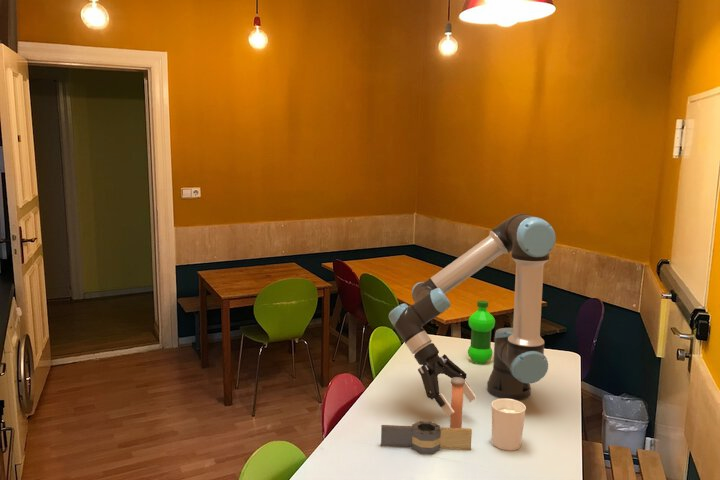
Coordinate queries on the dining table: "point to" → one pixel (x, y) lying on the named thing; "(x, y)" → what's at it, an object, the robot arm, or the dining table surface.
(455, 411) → the hinge pin
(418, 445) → the hinge
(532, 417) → the dining table surface
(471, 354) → the plastic bottle
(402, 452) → the dining table surface
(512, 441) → the candle holder
